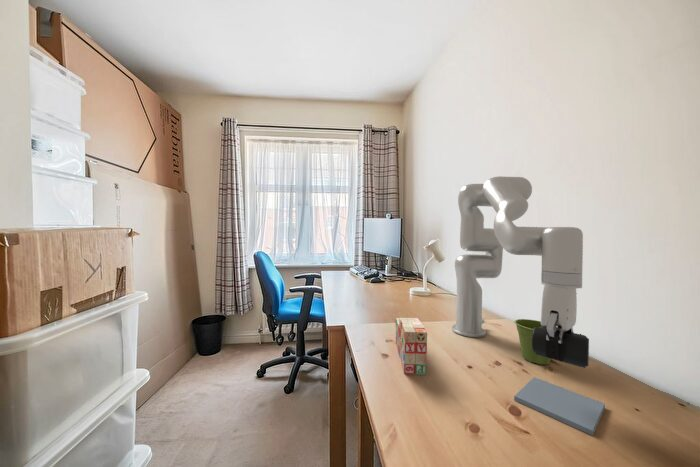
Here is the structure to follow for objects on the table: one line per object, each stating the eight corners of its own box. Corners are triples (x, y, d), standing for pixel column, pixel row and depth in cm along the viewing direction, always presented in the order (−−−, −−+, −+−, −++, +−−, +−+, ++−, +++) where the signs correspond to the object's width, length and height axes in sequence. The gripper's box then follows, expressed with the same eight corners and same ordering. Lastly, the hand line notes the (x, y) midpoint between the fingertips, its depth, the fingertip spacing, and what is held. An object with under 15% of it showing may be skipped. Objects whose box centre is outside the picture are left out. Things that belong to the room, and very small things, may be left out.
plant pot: (565, 363, 82) (566, 327, 82) (548, 372, 76) (548, 334, 76) (524, 348, 93) (525, 316, 93) (506, 356, 86) (506, 321, 86)
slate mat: (534, 380, 72) (534, 377, 72) (604, 407, 61) (604, 403, 61) (514, 400, 63) (514, 395, 63) (592, 435, 52) (592, 430, 52)
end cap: (531, 357, 63) (531, 329, 63) (537, 349, 68) (537, 322, 68) (587, 373, 56) (588, 342, 56) (589, 363, 61) (590, 333, 61)
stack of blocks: (395, 343, 95) (395, 309, 95) (412, 344, 95) (413, 309, 95) (404, 374, 74) (404, 330, 74) (426, 375, 74) (427, 331, 74)
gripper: (552, 274, 71) (551, 340, 70) (529, 280, 60) (528, 358, 59) (589, 278, 65) (588, 350, 65) (572, 285, 54) (571, 372, 54)
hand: (559, 353), depth 62 cm, fingers closed on end cap, 7 cm apart
